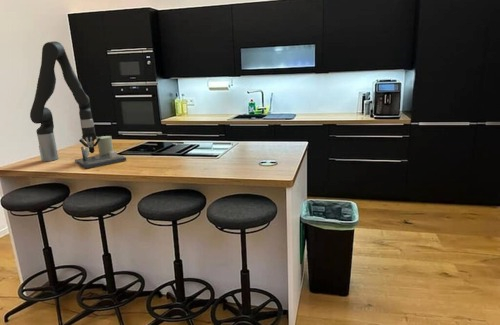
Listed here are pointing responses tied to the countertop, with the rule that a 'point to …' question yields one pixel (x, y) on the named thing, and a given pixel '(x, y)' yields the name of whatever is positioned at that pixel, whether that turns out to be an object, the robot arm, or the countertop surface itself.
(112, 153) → the fader
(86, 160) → the grey holder base
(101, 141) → the can
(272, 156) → the countertop surface
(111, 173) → the countertop surface
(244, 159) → the countertop surface
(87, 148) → the rack door
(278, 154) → the countertop surface
